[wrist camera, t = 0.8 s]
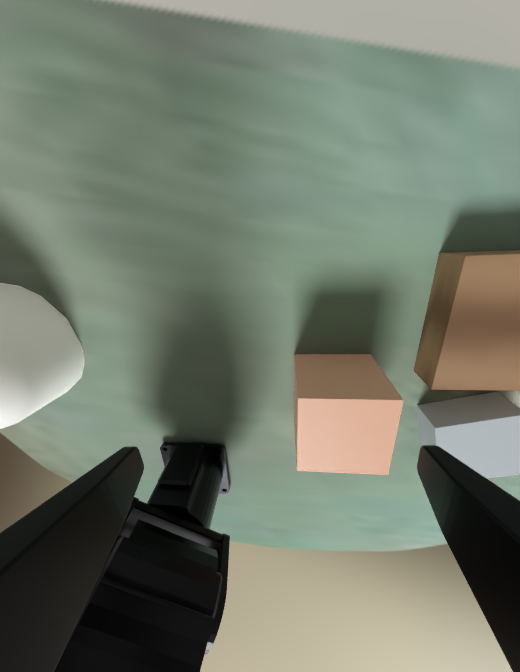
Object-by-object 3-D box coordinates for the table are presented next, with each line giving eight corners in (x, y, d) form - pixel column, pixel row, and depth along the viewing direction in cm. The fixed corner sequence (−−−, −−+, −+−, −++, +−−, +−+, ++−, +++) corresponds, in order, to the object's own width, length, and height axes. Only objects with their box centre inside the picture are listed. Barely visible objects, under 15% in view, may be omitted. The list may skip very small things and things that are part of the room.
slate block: (491, 444, 22) (521, 474, 20) (420, 454, 23) (438, 483, 21) (494, 389, 20) (527, 414, 18) (415, 403, 21) (435, 428, 19)
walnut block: (533, 368, 19) (574, 391, 17) (411, 368, 20) (431, 389, 18) (584, 246, 16) (646, 249, 13) (435, 252, 17) (465, 255, 14)
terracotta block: (362, 414, 22) (388, 475, 17) (293, 412, 23) (296, 470, 17) (370, 353, 20) (403, 400, 14) (294, 353, 20) (297, 398, 15)
